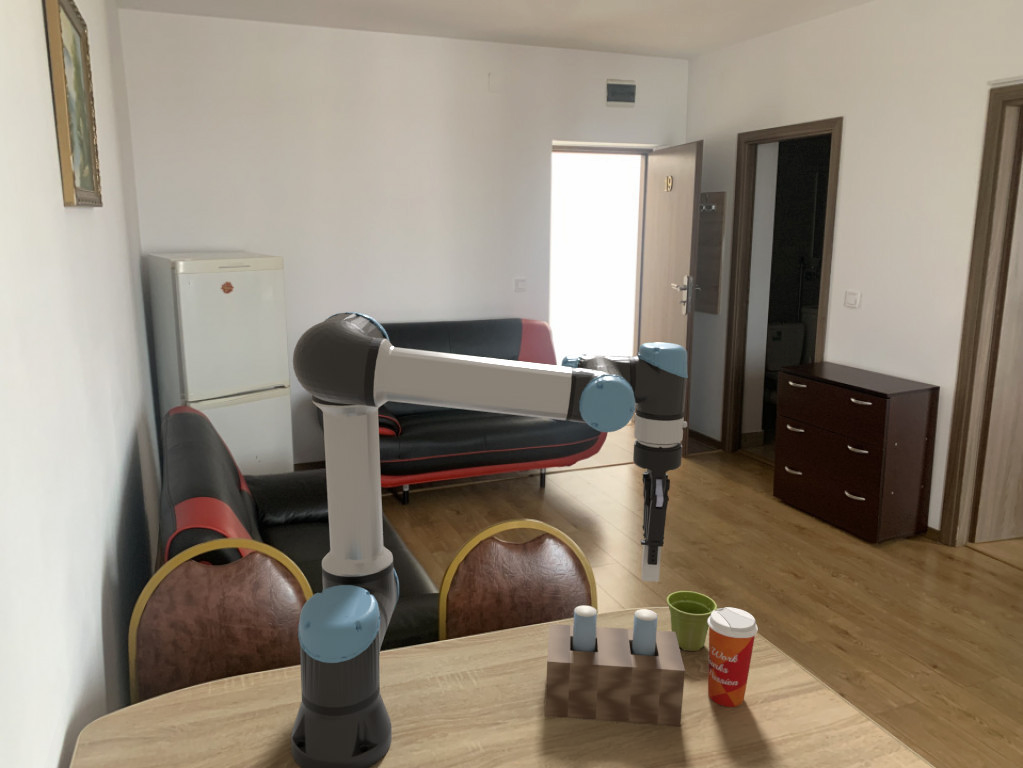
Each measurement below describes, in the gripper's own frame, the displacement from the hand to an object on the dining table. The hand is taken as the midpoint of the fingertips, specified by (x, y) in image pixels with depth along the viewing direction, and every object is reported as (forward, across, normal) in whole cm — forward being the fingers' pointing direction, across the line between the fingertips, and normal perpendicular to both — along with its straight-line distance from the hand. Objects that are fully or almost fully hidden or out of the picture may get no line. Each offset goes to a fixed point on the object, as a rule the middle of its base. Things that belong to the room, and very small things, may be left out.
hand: (650, 579), depth 127 cm
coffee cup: (+23, +3, -14) cm, 27 cm away
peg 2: (+17, 0, 0) cm, 17 cm away
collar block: (+23, 0, +6) cm, 23 cm away
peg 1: (+16, 0, +10) cm, 19 cm away
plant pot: (+23, +20, -10) cm, 32 cm away
